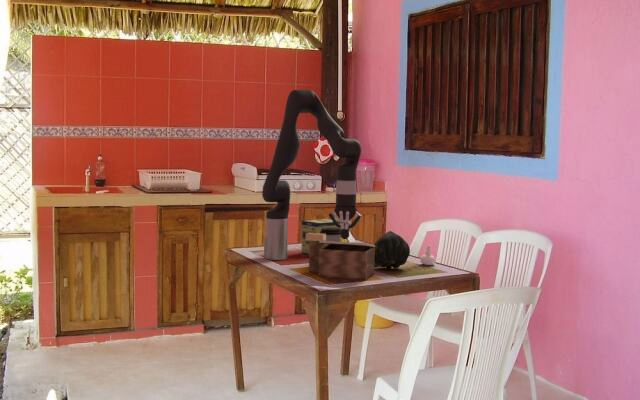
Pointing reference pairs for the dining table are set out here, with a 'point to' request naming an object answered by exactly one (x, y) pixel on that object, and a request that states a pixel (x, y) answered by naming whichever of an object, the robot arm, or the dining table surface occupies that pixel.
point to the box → (341, 261)
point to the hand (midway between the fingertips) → (345, 239)
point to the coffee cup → (332, 234)
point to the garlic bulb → (427, 258)
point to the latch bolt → (315, 237)
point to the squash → (391, 251)
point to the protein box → (314, 231)
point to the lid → (347, 243)
